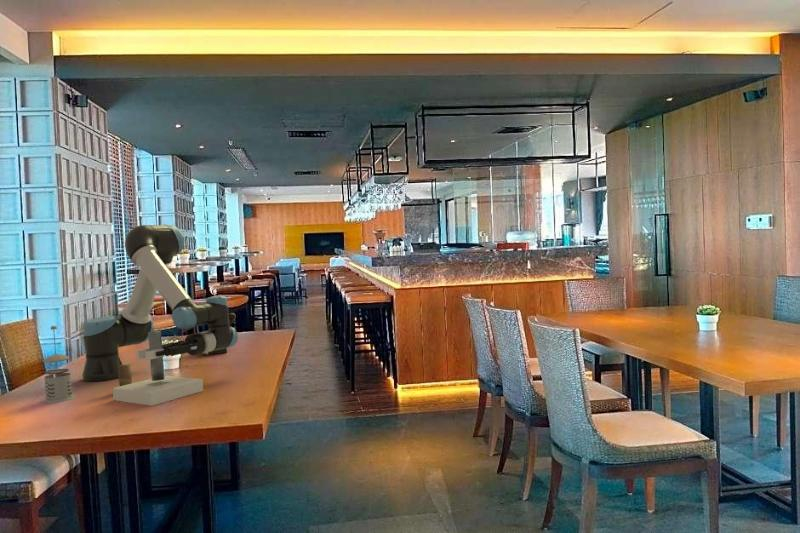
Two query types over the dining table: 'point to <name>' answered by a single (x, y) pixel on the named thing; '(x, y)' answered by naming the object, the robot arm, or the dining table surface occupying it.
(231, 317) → the dark block
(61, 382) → the french press
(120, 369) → the walnut pin
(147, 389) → the hole plate
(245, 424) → the dining table surface
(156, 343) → the metal pin
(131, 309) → the robot arm
